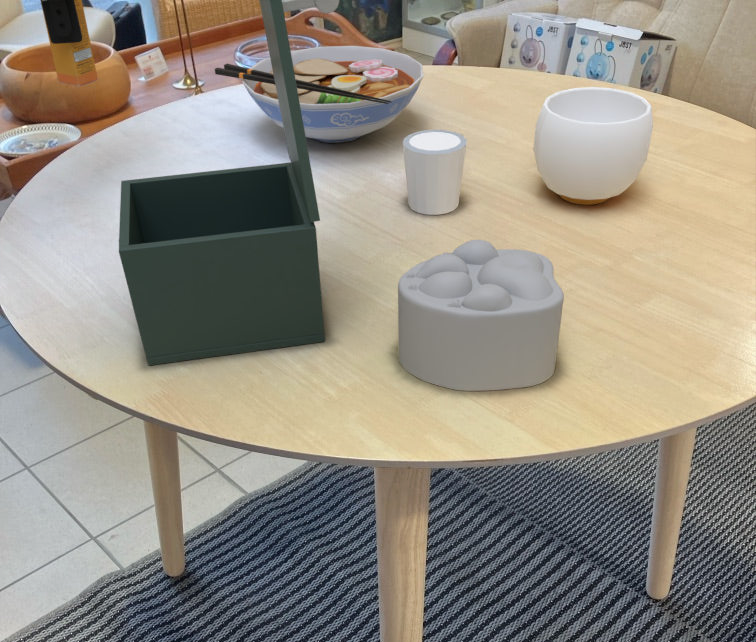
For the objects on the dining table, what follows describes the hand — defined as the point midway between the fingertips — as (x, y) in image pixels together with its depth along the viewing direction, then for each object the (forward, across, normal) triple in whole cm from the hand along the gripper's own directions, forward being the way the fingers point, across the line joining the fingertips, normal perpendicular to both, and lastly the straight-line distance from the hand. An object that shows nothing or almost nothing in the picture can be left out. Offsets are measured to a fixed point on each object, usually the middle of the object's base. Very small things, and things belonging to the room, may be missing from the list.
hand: (68, 33), depth 91 cm
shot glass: (+16, +15, +37) cm, 43 cm away
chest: (+17, +33, +13) cm, 39 cm away
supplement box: (+5, 0, 0) cm, 5 cm away
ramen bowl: (+16, -9, +30) cm, 35 cm away
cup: (+16, +17, +54) cm, 59 cm away
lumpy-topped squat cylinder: (+17, +45, +33) cm, 58 cm away
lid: (-3, +34, +19) cm, 39 cm away
